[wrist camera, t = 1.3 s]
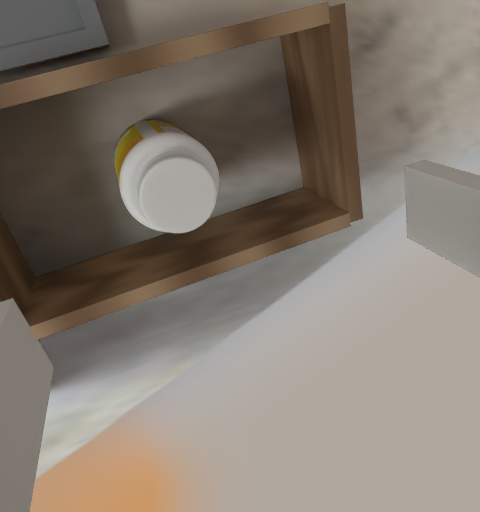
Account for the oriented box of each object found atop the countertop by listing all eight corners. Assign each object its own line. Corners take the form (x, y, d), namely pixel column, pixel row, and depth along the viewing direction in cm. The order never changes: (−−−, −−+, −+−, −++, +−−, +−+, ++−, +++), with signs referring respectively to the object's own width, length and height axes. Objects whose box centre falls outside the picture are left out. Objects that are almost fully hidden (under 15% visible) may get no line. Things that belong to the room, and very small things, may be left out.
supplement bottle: (128, 205, 30) (141, 262, 21) (102, 129, 27) (104, 157, 18) (200, 184, 31) (242, 230, 22) (181, 109, 28) (219, 126, 19)
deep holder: (27, 293, 30) (10, 349, 24) (-80, 106, 24) (-140, 119, 18) (316, 194, 34) (363, 221, 28) (290, 13, 28) (344, -3, 22)
